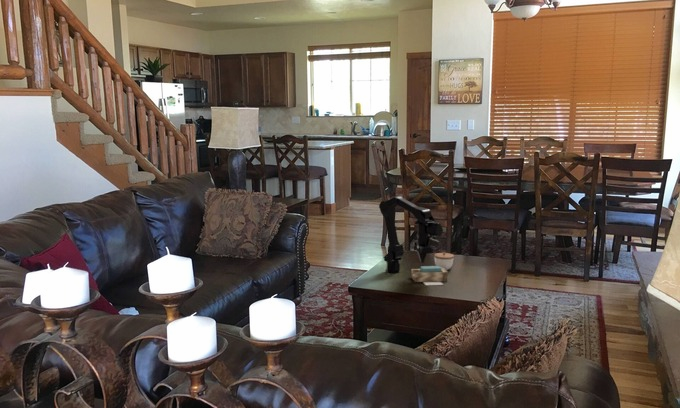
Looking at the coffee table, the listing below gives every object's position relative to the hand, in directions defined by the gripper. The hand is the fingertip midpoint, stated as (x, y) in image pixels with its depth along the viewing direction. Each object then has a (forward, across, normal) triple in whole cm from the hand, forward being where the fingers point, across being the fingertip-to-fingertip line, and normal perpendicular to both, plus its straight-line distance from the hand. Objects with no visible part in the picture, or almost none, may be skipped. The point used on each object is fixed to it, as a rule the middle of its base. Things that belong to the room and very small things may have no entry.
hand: (422, 262), depth 293 cm
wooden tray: (+9, 0, -5) cm, 10 cm away
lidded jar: (+9, +20, -18) cm, 28 cm away
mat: (+9, -8, -4) cm, 13 cm away
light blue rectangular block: (+7, 0, -5) cm, 8 cm away
